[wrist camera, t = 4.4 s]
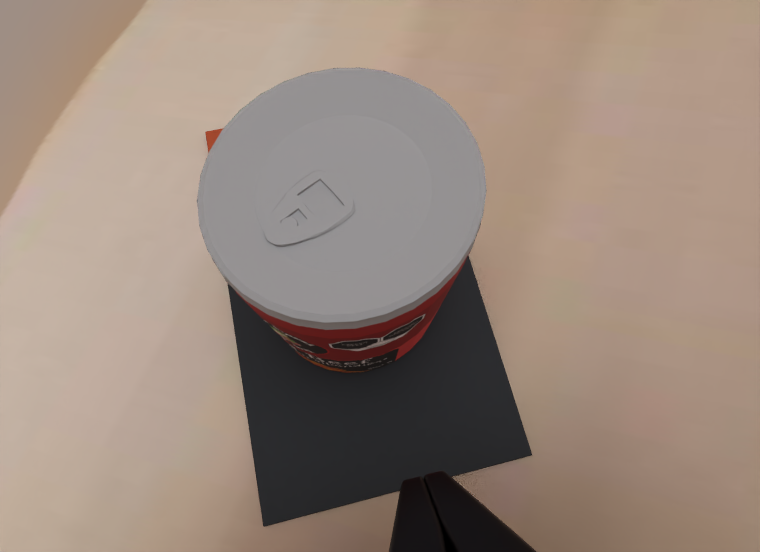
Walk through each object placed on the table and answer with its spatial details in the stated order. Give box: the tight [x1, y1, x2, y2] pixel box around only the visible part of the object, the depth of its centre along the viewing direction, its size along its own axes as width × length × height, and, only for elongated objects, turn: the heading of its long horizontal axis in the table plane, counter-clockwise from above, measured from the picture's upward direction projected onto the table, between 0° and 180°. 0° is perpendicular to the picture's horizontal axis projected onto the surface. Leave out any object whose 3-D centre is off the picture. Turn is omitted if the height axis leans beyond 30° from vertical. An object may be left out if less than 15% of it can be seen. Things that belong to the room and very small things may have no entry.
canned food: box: [197, 68, 486, 373], centre depth 18 cm, size 8×8×11 cm
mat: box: [228, 256, 532, 526], centre depth 22 cm, size 13×12×1 cm
